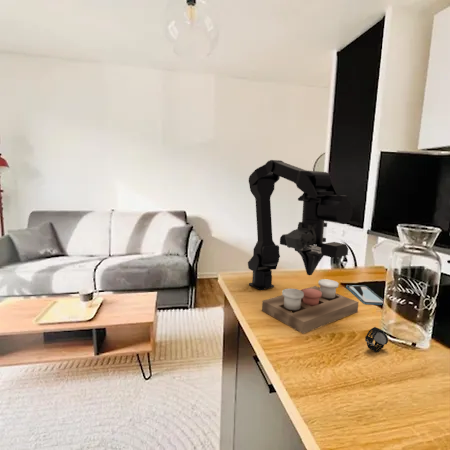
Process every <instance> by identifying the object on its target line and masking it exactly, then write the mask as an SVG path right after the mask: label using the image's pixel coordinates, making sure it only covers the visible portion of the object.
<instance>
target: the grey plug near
mask: <svg viewBox="0 0 450 450" xmlns="http://www.w3.org/2000/svg"><path fill="white" fill-rule="evenodd" d="M301 290H302V289H299V288H298V289H297V288H285V289H283V290H282V292H281V295H283V296H284V307H285V308H287V309H290V310H298V309H300V308H301V298H303V297H304V292H302V291H301Z"/></svg>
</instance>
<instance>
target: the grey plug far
mask: <svg viewBox="0 0 450 450" xmlns="http://www.w3.org/2000/svg"><path fill="white" fill-rule="evenodd" d="M317 284H318V286H319V287H320V292H321V293H322V297H325V298H335V294H337V288H339V284H340V283H339V282H338V281H336V280H333V279H327V278H326V279H324V278H321V279H319V280H318V282H317Z"/></svg>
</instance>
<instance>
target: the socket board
mask: <svg viewBox="0 0 450 450" xmlns="http://www.w3.org/2000/svg"><path fill="white" fill-rule="evenodd" d="M309 288H310V289H316V290H319V291H320V286H317V285H314V286H311V287H309ZM358 310H359V301H358V300H354V299H352V298H349V297H346V296H344V295H341V294H338V293H336V294H335V298H325V297H322V296H321V297H320V298H319V304H318V305H315V306H309V305H307V304H305V303H303V298H301V308H300V309H298V310H290V309H287V308H285V307H284V296H283V295H282V294H280V295H278V296H273V297H270V298H267V299H263V300H262V302H261V311H262V312H263V313H265V314H268V316H271V317H273V318H274V319H276V320H278V321H280V322H282V323H283V324H285V325H287V326H288V327H290V328H292V329H293V330H295V331H297V332H300V333H301V334H303V335H304V334H306V333H309V332H311V331H313V330H316V329H319V328H321V327H323V326H325V325H328V324H331V323H333V322H336V321H338V320H341V319H343V318H346V317H348V316H351V315H353V314H355V313H358Z"/></svg>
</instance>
